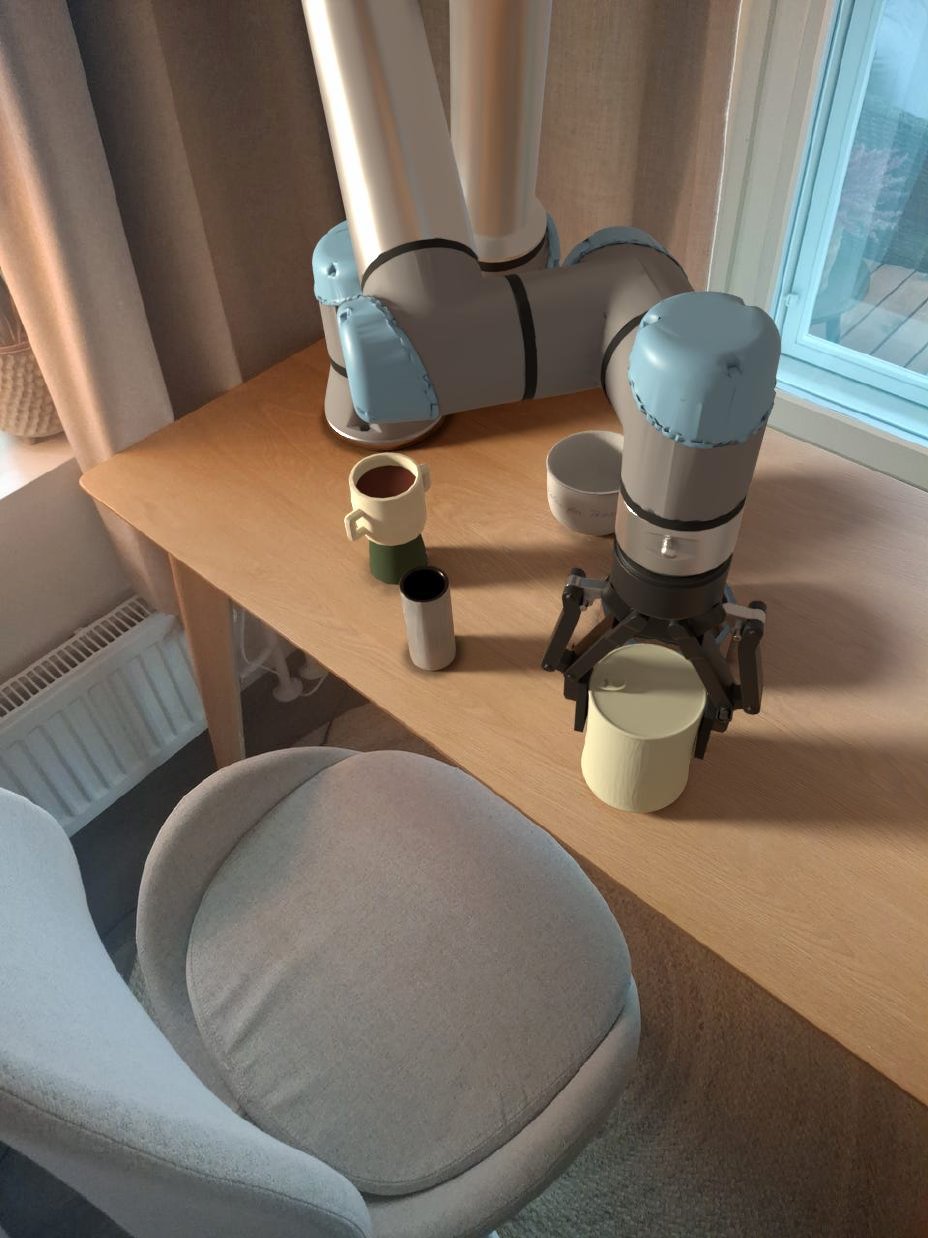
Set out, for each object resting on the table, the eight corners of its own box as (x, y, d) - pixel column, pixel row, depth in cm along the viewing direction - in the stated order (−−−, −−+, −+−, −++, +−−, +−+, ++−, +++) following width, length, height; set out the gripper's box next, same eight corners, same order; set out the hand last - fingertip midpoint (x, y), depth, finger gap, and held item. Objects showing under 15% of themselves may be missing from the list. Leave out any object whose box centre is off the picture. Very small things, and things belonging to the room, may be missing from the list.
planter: (400, 655, 89) (388, 585, 81) (432, 627, 91) (423, 557, 83) (433, 679, 87) (424, 610, 79) (465, 650, 89) (459, 580, 81)
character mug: (414, 525, 101) (401, 432, 91) (459, 556, 97) (451, 463, 87) (339, 579, 96) (317, 487, 86) (383, 614, 93) (366, 522, 83)
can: (585, 716, 83) (592, 633, 73) (689, 727, 81) (709, 644, 72) (576, 806, 77) (583, 728, 68) (687, 820, 76) (709, 743, 66)
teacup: (529, 531, 99) (529, 476, 93) (568, 471, 105) (571, 415, 99) (650, 571, 95) (659, 515, 88) (684, 505, 100) (695, 449, 94)
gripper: (492, 550, 58) (500, 739, 75) (852, 616, 53) (772, 802, 70) (522, 473, 62) (523, 668, 80) (857, 528, 57) (780, 723, 75)
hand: (640, 731), depth 75 cm, fingers closed on can, 9 cm apart
